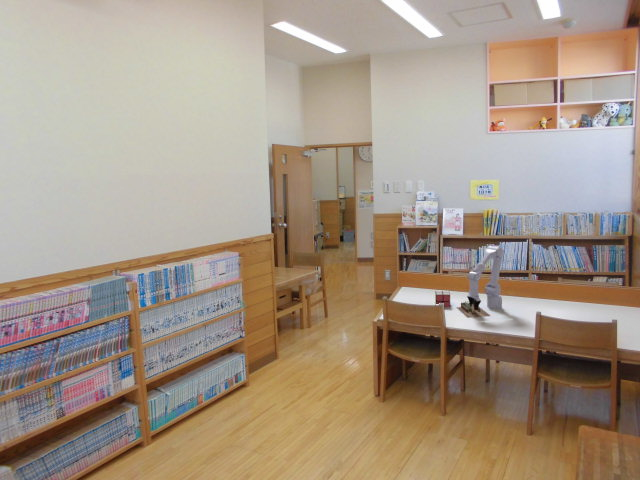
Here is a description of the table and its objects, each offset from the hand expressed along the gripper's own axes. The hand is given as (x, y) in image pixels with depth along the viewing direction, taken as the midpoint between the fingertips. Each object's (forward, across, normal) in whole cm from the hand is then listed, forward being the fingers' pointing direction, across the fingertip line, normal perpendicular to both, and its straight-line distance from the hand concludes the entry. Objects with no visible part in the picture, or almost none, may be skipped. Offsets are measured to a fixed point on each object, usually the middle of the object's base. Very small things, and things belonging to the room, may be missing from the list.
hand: (473, 308), depth 319 cm
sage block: (+3, -5, 0) cm, 6 cm away
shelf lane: (+4, -2, 0) cm, 4 cm away
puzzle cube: (+4, -21, -15) cm, 26 cm away
